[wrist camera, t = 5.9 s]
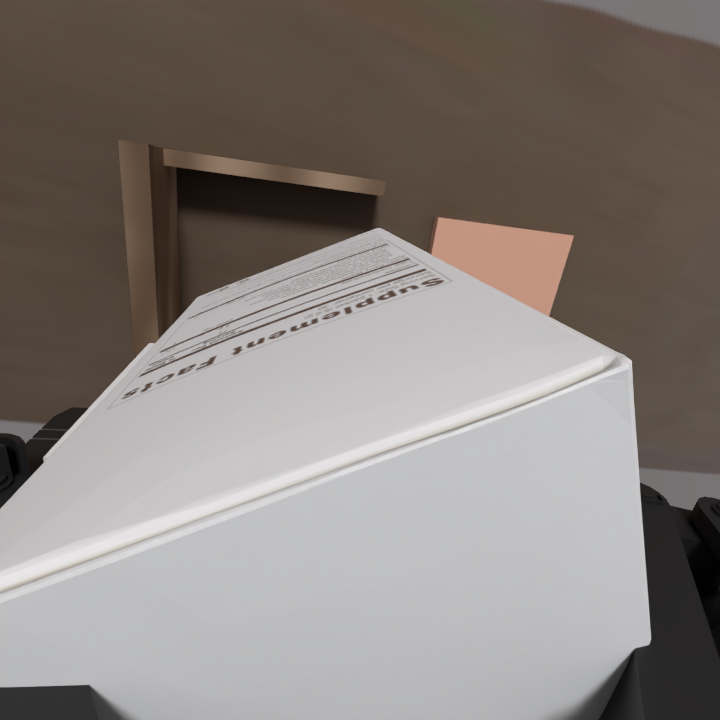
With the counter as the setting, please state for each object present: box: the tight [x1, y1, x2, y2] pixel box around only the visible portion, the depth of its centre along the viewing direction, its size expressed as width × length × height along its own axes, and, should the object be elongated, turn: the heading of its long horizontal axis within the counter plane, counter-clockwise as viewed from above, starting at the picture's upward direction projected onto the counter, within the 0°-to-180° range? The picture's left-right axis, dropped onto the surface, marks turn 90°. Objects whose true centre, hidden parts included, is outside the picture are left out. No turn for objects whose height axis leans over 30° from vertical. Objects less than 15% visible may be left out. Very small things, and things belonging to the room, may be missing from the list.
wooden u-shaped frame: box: [118, 140, 386, 358], centre depth 31 cm, size 16×16×7 cm
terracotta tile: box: [428, 217, 574, 316], centre depth 37 cm, size 12×12×1 cm
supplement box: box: [0, 228, 651, 720], centre depth 13 cm, size 9×9×15 cm
